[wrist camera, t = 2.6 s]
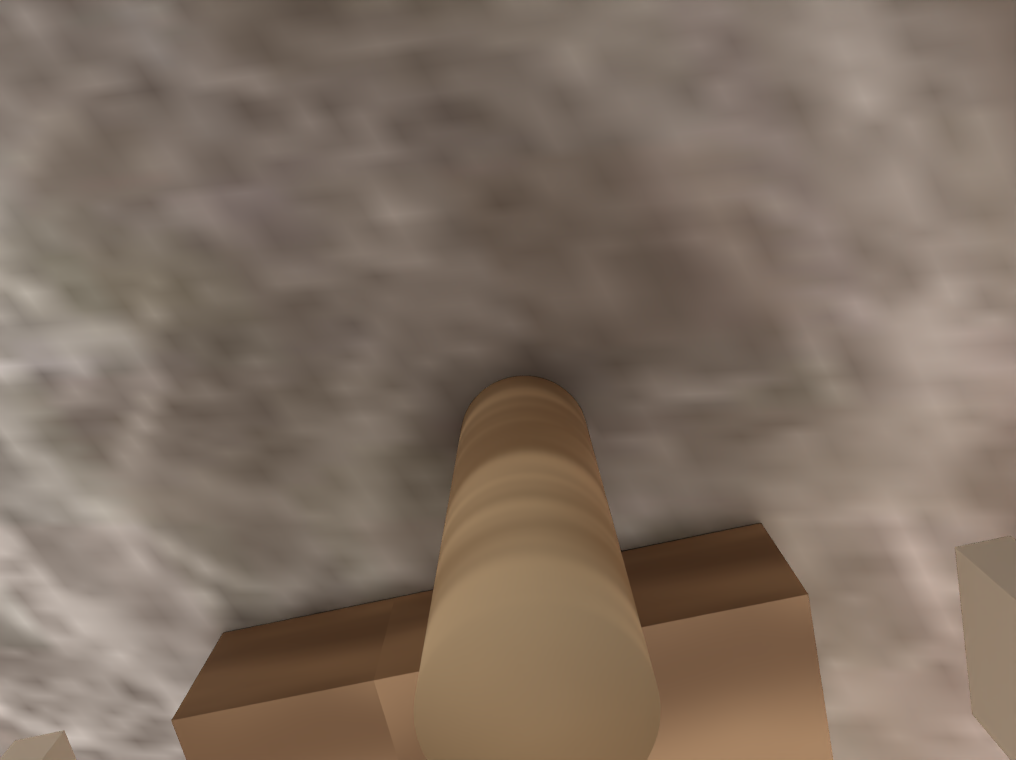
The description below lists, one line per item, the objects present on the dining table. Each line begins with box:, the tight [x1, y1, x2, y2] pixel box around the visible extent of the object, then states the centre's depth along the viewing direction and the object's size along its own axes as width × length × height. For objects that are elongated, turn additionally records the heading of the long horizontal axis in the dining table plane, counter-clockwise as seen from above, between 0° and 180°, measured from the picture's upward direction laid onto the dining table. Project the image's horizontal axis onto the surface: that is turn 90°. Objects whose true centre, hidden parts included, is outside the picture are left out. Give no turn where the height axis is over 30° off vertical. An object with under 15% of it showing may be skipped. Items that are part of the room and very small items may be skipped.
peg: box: [414, 376, 661, 760], centre depth 18 cm, size 4×4×12 cm
